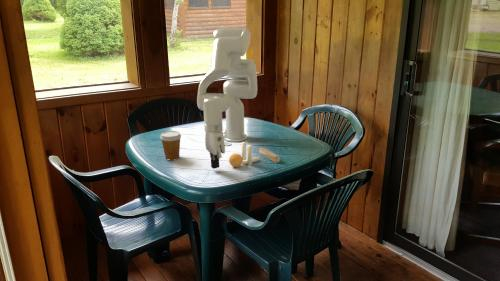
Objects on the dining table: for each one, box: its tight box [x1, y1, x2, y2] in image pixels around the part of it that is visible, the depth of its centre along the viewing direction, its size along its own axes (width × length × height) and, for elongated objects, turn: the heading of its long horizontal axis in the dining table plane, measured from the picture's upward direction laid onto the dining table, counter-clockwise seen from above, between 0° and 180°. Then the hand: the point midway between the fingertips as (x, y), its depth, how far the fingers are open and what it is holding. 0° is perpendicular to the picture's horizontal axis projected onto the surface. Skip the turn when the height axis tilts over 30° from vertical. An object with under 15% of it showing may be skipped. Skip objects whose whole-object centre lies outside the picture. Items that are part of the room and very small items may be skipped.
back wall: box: [258, 146, 280, 164], centre depth 189 cm, size 2×14×3 cm, turn 31°
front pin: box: [241, 156, 261, 166], centre depth 184 cm, size 2×2×9 cm
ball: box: [228, 152, 243, 168], centre depth 179 cm, size 6×6×6 cm
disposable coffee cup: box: [159, 130, 182, 161], centre depth 189 cm, size 10×10×12 cm
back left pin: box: [241, 141, 247, 160], centre depth 185 cm, size 2×2×9 cm
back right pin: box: [246, 144, 253, 167], centre depth 181 cm, size 2×2×9 cm
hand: (215, 167), depth 176 cm, fingers closed
